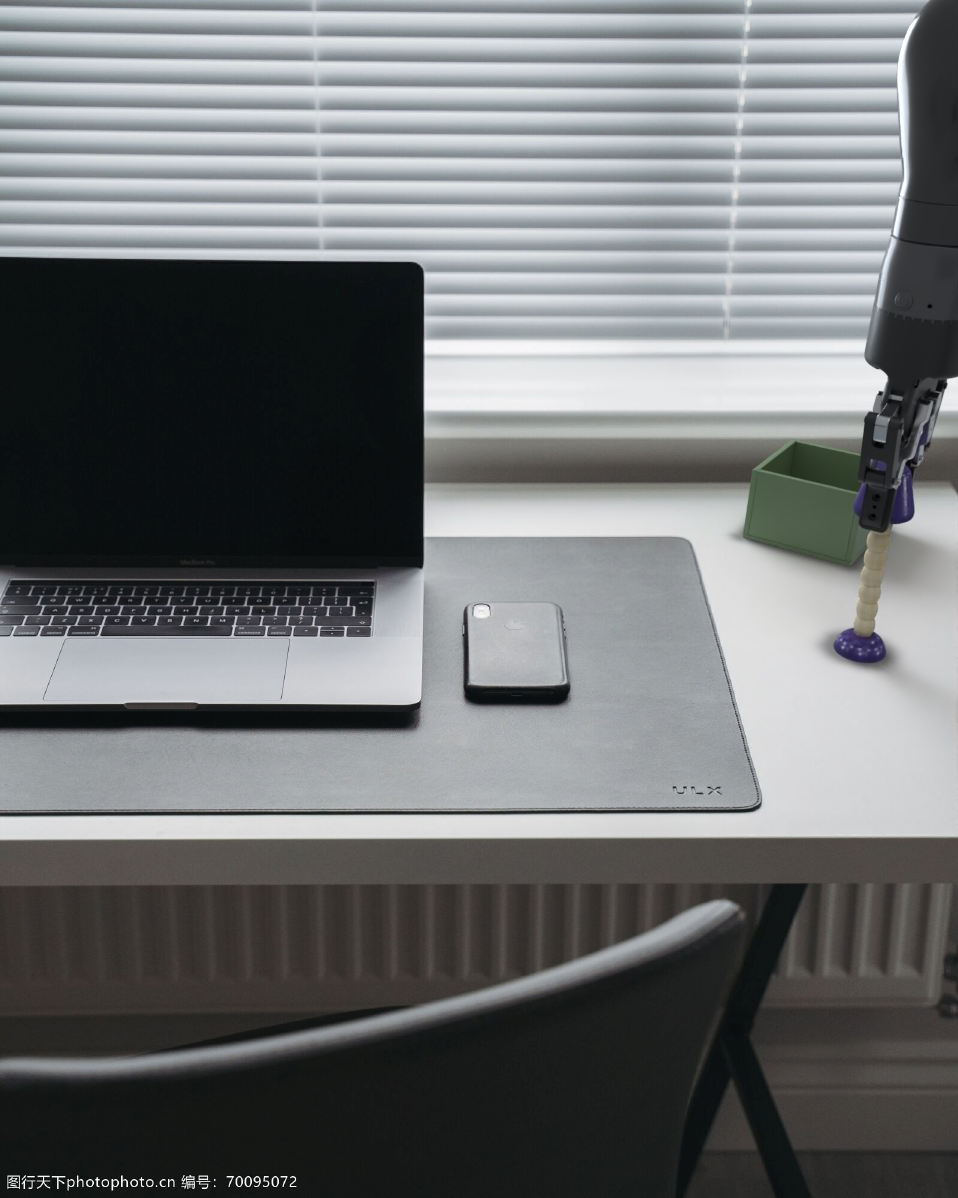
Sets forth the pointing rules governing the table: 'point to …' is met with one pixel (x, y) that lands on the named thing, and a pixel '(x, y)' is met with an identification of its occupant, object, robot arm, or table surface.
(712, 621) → the table surface
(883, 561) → the toy lamp
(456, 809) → the table surface
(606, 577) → the table surface
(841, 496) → the bin
